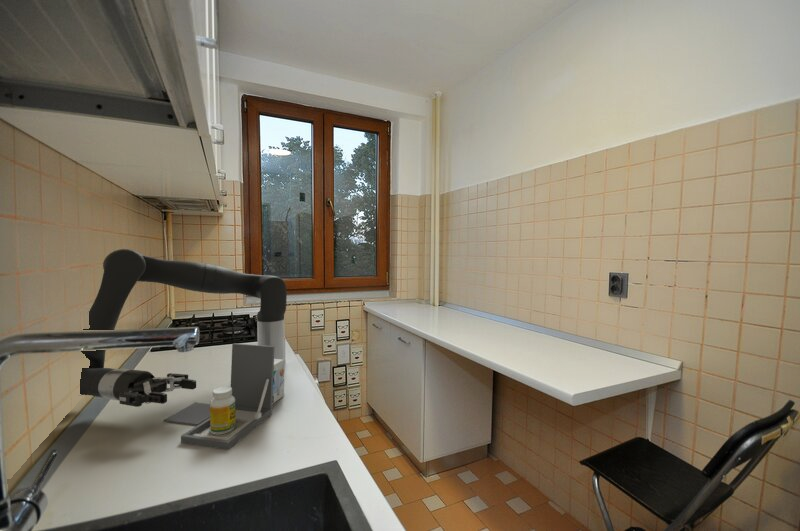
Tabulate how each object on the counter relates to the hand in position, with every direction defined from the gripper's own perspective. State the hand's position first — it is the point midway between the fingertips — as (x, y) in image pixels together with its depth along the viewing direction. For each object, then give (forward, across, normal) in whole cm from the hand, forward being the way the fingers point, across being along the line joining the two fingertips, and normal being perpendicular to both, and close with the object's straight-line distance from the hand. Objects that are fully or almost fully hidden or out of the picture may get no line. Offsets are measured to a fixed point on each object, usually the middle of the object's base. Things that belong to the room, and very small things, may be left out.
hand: (181, 391), depth 83 cm
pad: (-1, +5, +8) cm, 10 cm away
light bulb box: (+12, +15, +8) cm, 21 cm away
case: (+12, +1, +8) cm, 15 cm away
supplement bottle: (+11, 0, +8) cm, 14 cm away
